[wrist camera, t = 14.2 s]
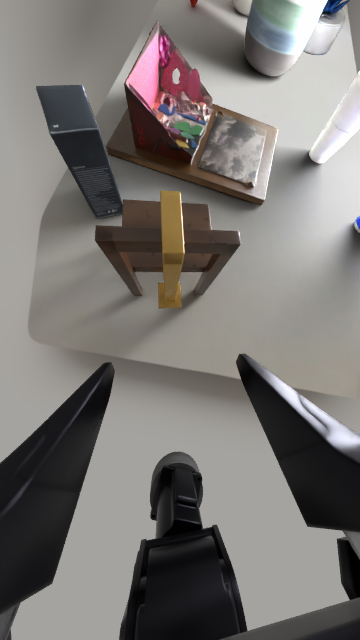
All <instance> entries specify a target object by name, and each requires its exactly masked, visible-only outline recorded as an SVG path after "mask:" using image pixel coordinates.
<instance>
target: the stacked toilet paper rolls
mask: <svg viewBox="0 0 360 640" xmlns="http://www.w3.org/2000/svg"><path fill="white" fill-rule="evenodd" d="M359 128H360V71H359V72H358V74H357V75H356V77H355V79H354V80H353V82H352V84H351V85H350V87H349V89H348V90H347V92H346V93H345V95H344V97H343V98H342V100H341V102H340V103H339V105H338V107H337V109H336V110H335V112H334V113H333V115H332V116H331V118H330V119H329V121H328V123H327V124H326V126H325V127H324V129H323V131H322V132H321V134H320V136H319V137H318V139H317V140H316V142H315V144H314V145H313V147H312V149H311V150H310V152H309V155H310V158H311V159H312V160H313V161H314V162H316V163H324V162H325V161H326V160H327V159H328V158H329V157H330V156H331V155H332V154H334V153H335V152H336V151H337V150H338V149H339V148H340V147H341V146H342V145H343V144H344V143H345V142H346V141H347V140H348V139H349V138H350V137H351V136H352V135H353V134H354V133H355V132H356V131H357V130H358V129H359Z"/></svg>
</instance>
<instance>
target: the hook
mask: <svg viewBox="0 0 360 640" xmlns="http://www.w3.org/2000/svg"><path fill="white" fill-rule="evenodd" d="M160 199H161V229H162V257H163V276H164V283H158V297H159V309H161V308H181V289H180V283H179V279H180V274H181V269H182V264H183V258H184V253H185V252H184V237H183V221H182V205H181V193H180V192H176V191H160Z"/></svg>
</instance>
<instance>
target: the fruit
mask: <svg viewBox="0 0 360 640" xmlns="http://www.w3.org/2000/svg"><path fill="white" fill-rule="evenodd" d="M197 1H198V0H190V2H191V5H192V6H193V7H194V6H195V5H196V3H197Z"/></svg>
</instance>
